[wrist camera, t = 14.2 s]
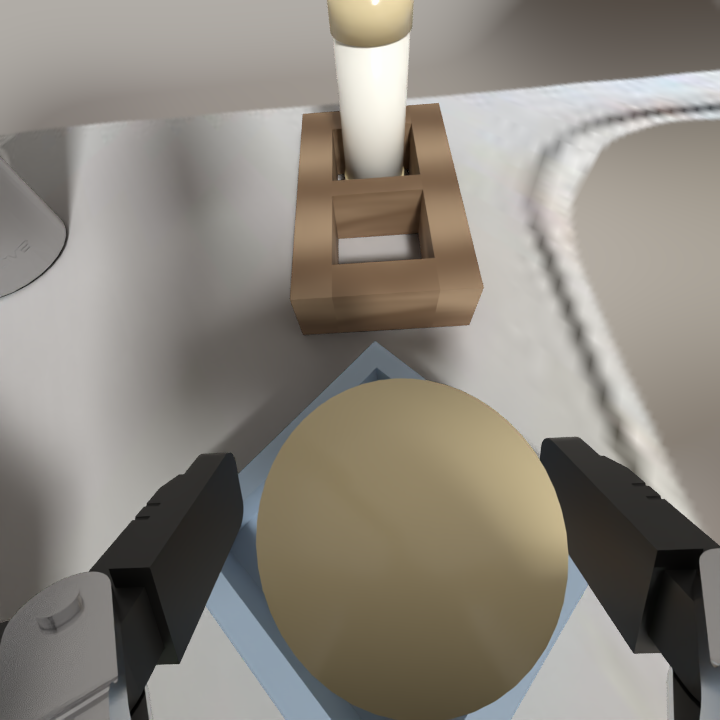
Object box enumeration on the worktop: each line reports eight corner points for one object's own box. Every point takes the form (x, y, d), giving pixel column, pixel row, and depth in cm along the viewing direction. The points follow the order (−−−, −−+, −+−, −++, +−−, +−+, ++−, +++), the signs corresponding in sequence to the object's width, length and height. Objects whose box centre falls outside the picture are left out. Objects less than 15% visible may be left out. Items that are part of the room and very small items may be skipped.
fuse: (335, 198, 27) (305, -23, 17) (372, 170, 29) (366, -52, 18) (377, 223, 26) (372, -2, 15) (414, 193, 27) (434, -35, 17)
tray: (204, 546, 17) (164, 545, 14) (376, 372, 20) (375, 340, 17) (403, 810, 13) (409, 897, 9) (575, 531, 16) (620, 527, 13)
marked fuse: (320, 543, 16) (195, 524, 5) (384, 470, 17) (391, 334, 6) (394, 624, 14) (436, 841, 4) (458, 537, 15) (626, 506, 5)
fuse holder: (469, 325, 22) (483, 287, 18) (303, 334, 22) (289, 299, 19) (432, 149, 29) (438, 103, 26) (311, 159, 30) (302, 114, 27)
